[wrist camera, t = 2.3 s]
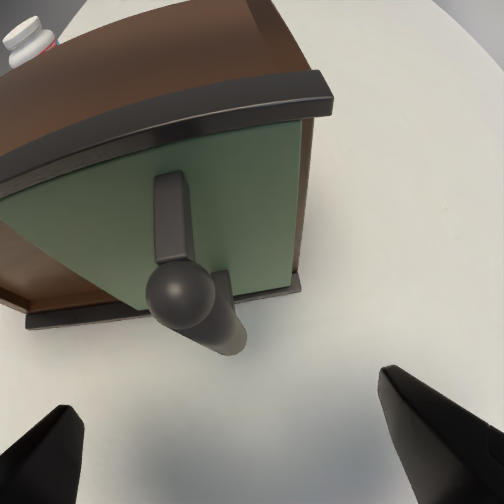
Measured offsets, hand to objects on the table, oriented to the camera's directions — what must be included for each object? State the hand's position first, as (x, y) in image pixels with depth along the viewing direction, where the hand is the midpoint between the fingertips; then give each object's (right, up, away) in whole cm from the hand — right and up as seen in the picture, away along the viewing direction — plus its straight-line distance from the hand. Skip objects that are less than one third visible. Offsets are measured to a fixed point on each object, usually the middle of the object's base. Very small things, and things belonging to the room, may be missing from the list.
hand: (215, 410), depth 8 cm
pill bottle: (-23, +23, +23) cm, 40 cm away
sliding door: (-1, 0, +10) cm, 10 cm away
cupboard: (-7, +4, +13) cm, 16 cm away
